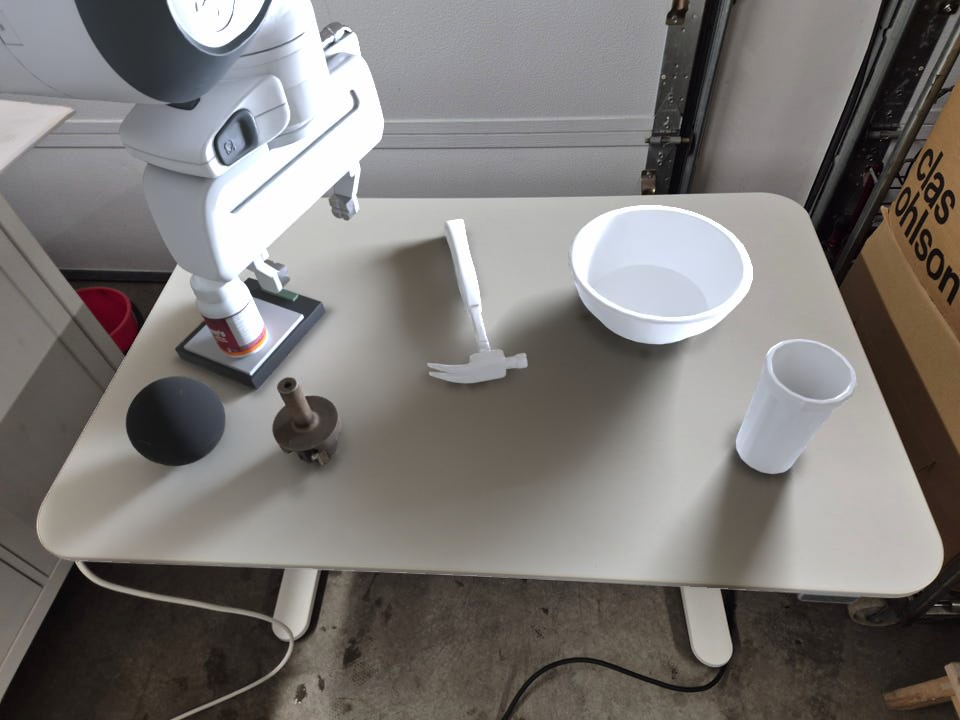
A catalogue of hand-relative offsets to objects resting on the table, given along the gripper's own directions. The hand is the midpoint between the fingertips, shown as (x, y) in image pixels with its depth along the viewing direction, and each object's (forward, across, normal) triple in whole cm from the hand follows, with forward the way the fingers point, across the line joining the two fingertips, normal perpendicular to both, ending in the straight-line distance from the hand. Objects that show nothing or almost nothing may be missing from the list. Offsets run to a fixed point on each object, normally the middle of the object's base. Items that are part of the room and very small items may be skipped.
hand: (313, 248), depth 49 cm
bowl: (+29, -34, +22) cm, 50 cm away
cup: (+29, -17, +40) cm, 52 cm away
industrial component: (+29, +4, -6) cm, 30 cm away
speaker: (+29, +9, -20) cm, 37 cm away
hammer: (+29, -25, -2) cm, 39 cm away
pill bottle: (+27, -5, -23) cm, 36 cm away
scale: (+29, -8, -25) cm, 39 cm away
